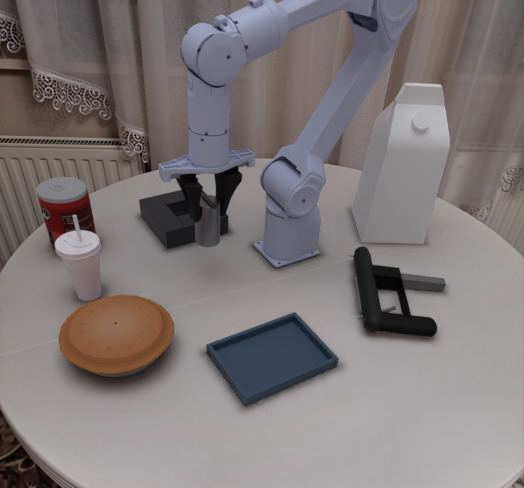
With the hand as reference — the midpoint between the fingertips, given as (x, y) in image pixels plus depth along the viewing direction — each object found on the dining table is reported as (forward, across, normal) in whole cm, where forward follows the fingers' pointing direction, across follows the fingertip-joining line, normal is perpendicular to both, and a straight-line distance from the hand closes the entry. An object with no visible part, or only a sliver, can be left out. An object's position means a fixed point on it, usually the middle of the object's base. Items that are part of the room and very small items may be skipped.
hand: (207, 216), depth 79 cm
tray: (+10, +1, +23) cm, 25 cm away
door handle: (+10, -25, +21) cm, 34 cm away
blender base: (+10, -2, -15) cm, 19 cm away
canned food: (+11, +18, -17) cm, 27 cm away
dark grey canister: (+4, 0, 0) cm, 4 cm away
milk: (+9, -38, +2) cm, 39 cm away
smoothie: (+11, +19, -3) cm, 22 cm away
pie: (+11, +19, +11) cm, 25 cm away
